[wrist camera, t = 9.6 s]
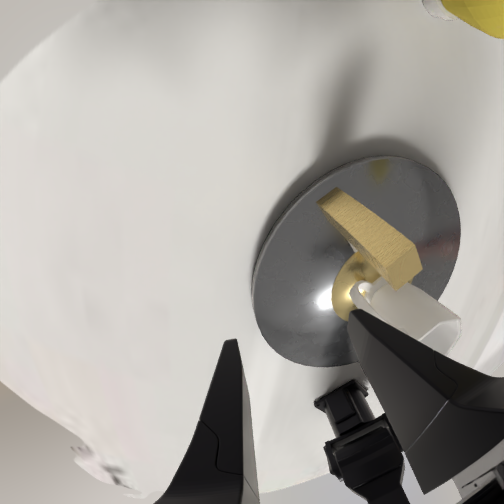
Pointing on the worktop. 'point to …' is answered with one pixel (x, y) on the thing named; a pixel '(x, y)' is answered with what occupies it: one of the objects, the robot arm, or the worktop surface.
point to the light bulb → (471, 13)
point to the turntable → (351, 253)
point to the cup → (410, 312)
